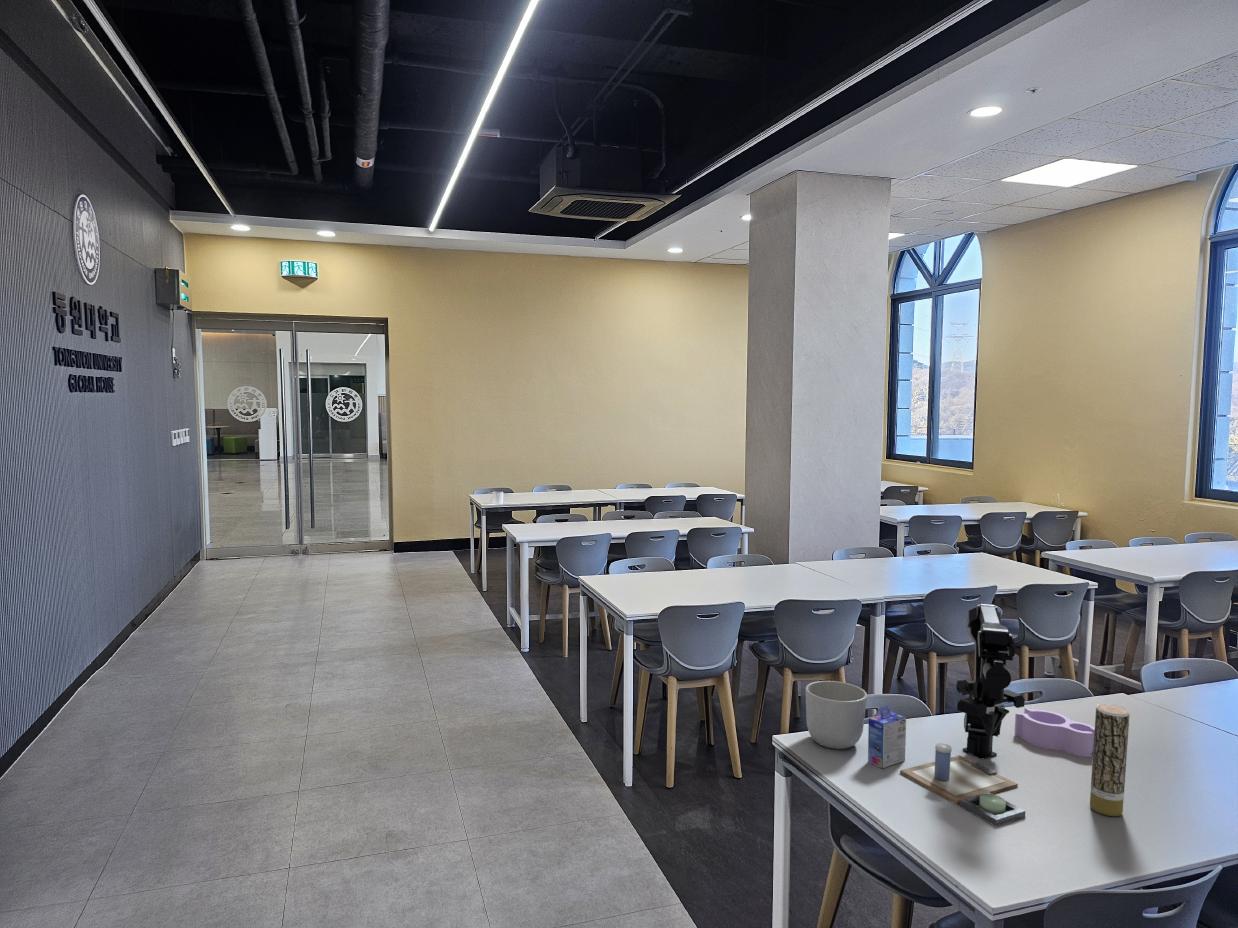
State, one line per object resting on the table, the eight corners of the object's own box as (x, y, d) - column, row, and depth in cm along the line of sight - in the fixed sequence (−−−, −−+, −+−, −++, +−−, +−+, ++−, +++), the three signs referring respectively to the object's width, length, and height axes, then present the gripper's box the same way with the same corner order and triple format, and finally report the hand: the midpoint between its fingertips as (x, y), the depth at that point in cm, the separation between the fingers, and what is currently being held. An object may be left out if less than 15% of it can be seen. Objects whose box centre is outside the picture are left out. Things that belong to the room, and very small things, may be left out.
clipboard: (959, 758, 218) (959, 753, 218) (1017, 786, 202) (1017, 781, 202) (900, 772, 209) (900, 767, 208) (956, 804, 192) (956, 798, 192)
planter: (813, 726, 238) (815, 676, 237) (871, 739, 230) (873, 687, 229) (795, 746, 224) (797, 693, 223) (856, 760, 215) (858, 706, 214)
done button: (990, 801, 193) (990, 791, 193) (1010, 812, 188) (1011, 802, 188) (974, 806, 191) (974, 796, 190) (994, 817, 186) (994, 807, 185)
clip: (1100, 749, 227) (1102, 725, 226) (1085, 761, 218) (1086, 737, 218) (1027, 727, 242) (1028, 705, 241) (1010, 737, 233) (1011, 714, 233)
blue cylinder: (941, 774, 206) (942, 741, 206) (953, 780, 203) (954, 747, 202) (930, 776, 205) (932, 744, 204) (942, 783, 201) (944, 750, 201)
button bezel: (988, 797, 196) (988, 791, 196) (1025, 816, 187) (1025, 810, 187) (960, 806, 192) (960, 800, 191) (996, 825, 183) (996, 819, 182)
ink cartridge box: (889, 753, 221) (891, 702, 220) (906, 760, 216) (908, 708, 215) (865, 761, 215) (868, 709, 214) (882, 769, 211) (885, 716, 210)
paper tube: (1122, 820, 186) (1129, 716, 185) (1089, 812, 190) (1095, 710, 188) (1122, 808, 192) (1129, 707, 190) (1089, 800, 196) (1096, 701, 194)
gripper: (990, 661, 215) (987, 717, 216) (941, 671, 207) (938, 729, 208) (1027, 674, 205) (1024, 733, 206) (977, 685, 197) (973, 746, 198)
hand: (989, 735), depth 205 cm, fingers closed
